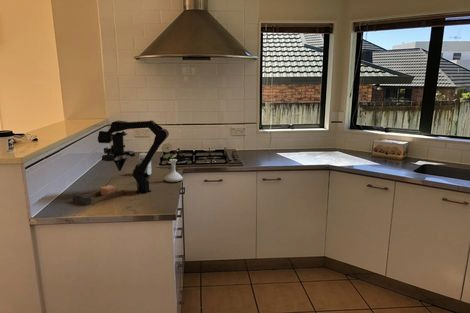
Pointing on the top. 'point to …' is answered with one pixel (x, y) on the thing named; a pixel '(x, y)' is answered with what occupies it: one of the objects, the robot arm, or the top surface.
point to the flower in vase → (173, 175)
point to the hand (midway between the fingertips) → (119, 170)
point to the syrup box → (141, 158)
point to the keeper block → (108, 189)
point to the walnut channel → (87, 200)
